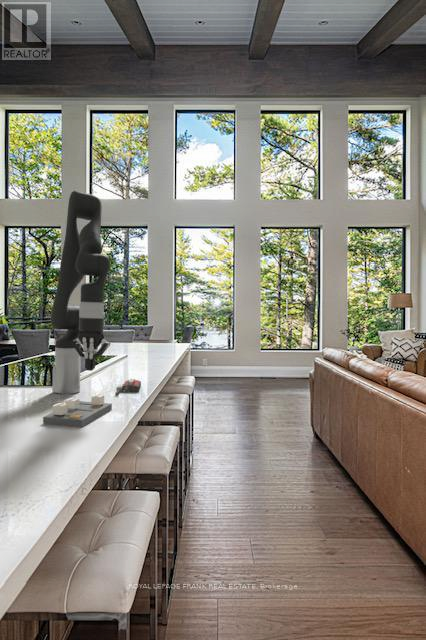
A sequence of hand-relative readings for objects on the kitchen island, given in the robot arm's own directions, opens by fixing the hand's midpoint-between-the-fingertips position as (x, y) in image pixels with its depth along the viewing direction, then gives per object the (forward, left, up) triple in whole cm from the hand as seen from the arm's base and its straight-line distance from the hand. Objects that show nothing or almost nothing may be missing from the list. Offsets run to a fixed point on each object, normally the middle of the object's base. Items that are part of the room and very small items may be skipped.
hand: (90, 370), depth 135 cm
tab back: (+3, 0, -11) cm, 11 cm away
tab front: (-2, -14, -11) cm, 18 cm away
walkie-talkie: (+1, +32, -14) cm, 35 cm away
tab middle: (-2, -7, -11) cm, 13 cm away
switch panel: (0, -7, -13) cm, 15 cm away
